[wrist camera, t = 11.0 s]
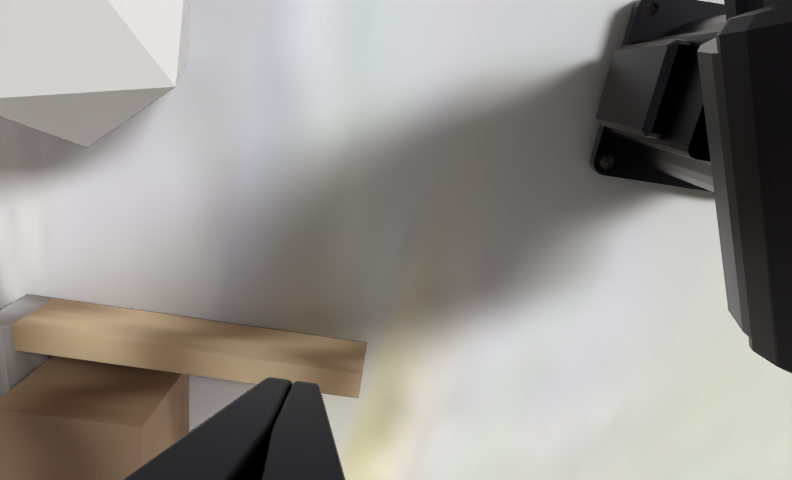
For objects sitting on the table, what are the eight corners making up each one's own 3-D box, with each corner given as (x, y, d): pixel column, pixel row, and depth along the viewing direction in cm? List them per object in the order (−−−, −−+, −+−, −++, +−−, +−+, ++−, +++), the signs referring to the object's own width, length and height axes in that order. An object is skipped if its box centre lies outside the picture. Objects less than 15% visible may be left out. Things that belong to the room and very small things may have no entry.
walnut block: (189, 363, 23) (141, 428, 19) (190, 460, 25) (146, 539, 21) (64, 346, 23) (-13, 408, 19) (74, 446, 25) (6, 522, 21)
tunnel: (366, 342, 22) (360, 381, 20) (340, 517, 26) (332, 571, 23) (27, 294, 22) (-29, 326, 19) (48, 477, 25) (2, 528, 23)
